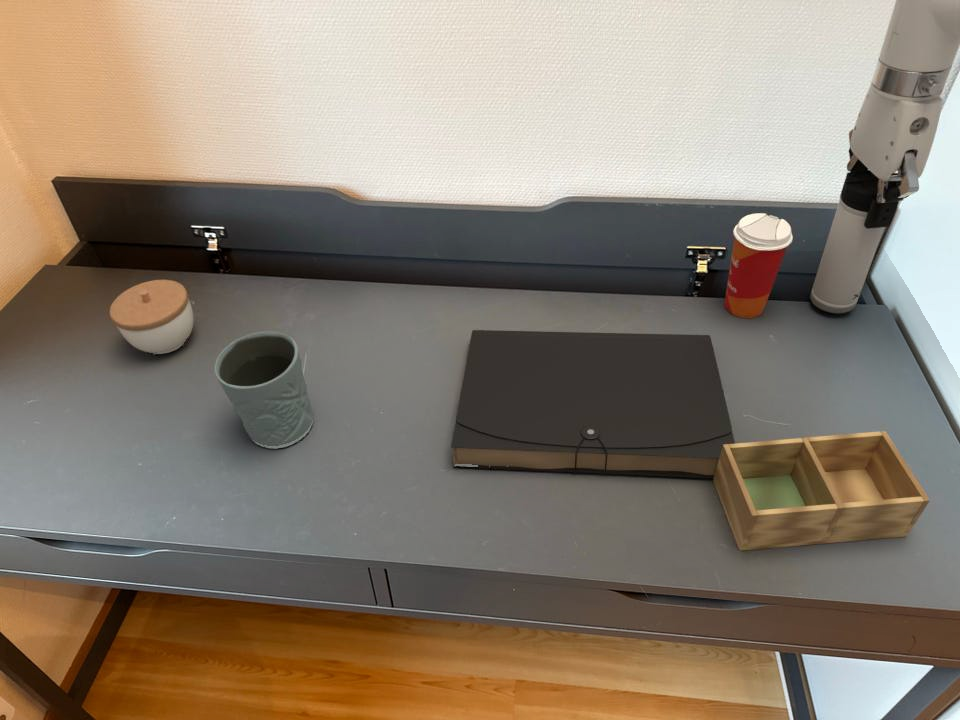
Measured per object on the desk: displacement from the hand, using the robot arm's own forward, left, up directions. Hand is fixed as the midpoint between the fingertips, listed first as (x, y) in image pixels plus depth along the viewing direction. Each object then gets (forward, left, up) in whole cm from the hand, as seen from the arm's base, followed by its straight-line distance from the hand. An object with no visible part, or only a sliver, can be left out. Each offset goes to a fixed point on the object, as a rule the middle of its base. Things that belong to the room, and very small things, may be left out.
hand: (864, 211), depth 93 cm
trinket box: (+99, -4, -16) cm, 101 cm away
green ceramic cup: (+79, +15, -16) cm, 82 cm away
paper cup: (+12, -1, -16) cm, 20 cm away
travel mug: (0, 0, -15) cm, 15 cm away
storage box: (+17, +34, -16) cm, 42 cm away
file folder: (+39, +16, -16) cm, 45 cm away
